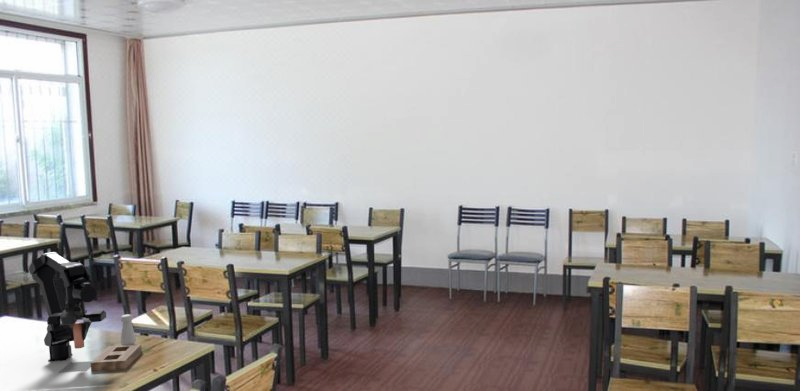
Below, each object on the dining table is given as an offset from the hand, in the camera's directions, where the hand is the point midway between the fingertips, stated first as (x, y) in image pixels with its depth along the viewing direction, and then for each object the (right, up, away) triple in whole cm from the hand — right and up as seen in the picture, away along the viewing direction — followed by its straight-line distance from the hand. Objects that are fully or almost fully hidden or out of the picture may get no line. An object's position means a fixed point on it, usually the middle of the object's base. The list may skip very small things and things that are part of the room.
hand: (79, 340), depth 226 cm
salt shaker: (+8, -8, +23) cm, 26 cm away
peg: (0, -3, 0) cm, 2 cm away
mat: (-1, -10, +1) cm, 10 cm away
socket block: (+12, -9, +5) cm, 16 cm away
